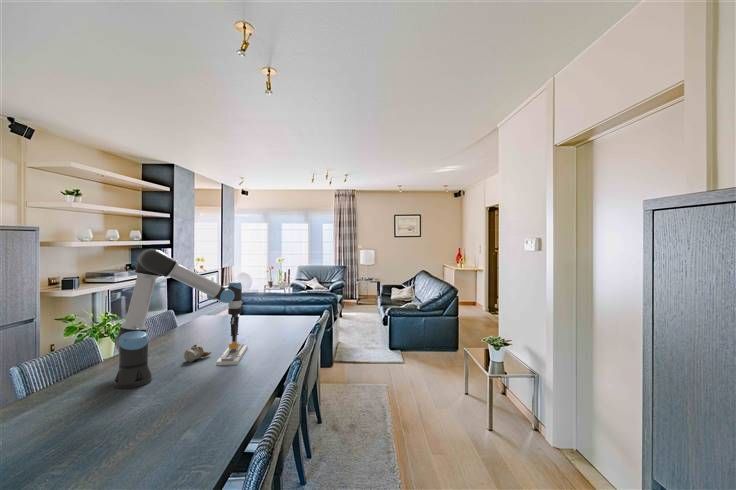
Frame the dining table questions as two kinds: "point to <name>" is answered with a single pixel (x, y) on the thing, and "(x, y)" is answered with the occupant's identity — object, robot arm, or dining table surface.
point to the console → (232, 356)
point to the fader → (233, 346)
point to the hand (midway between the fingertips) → (234, 346)
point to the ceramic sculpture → (195, 353)
